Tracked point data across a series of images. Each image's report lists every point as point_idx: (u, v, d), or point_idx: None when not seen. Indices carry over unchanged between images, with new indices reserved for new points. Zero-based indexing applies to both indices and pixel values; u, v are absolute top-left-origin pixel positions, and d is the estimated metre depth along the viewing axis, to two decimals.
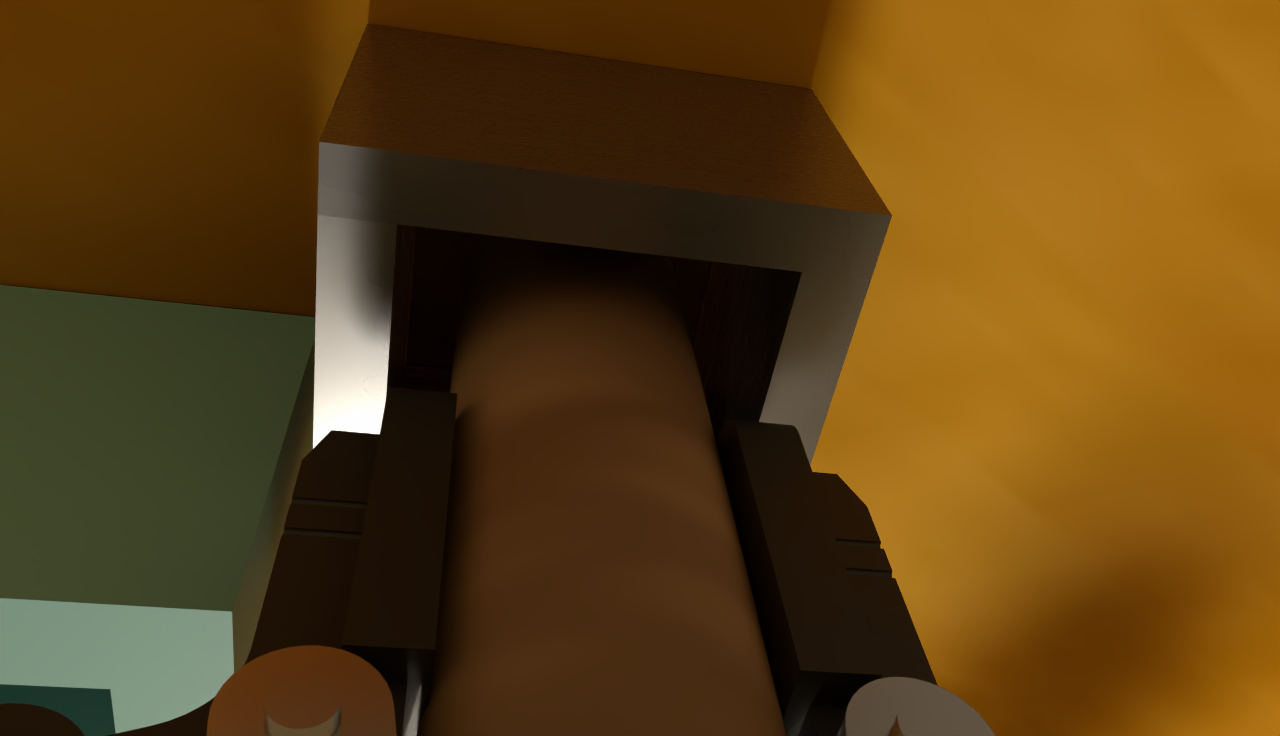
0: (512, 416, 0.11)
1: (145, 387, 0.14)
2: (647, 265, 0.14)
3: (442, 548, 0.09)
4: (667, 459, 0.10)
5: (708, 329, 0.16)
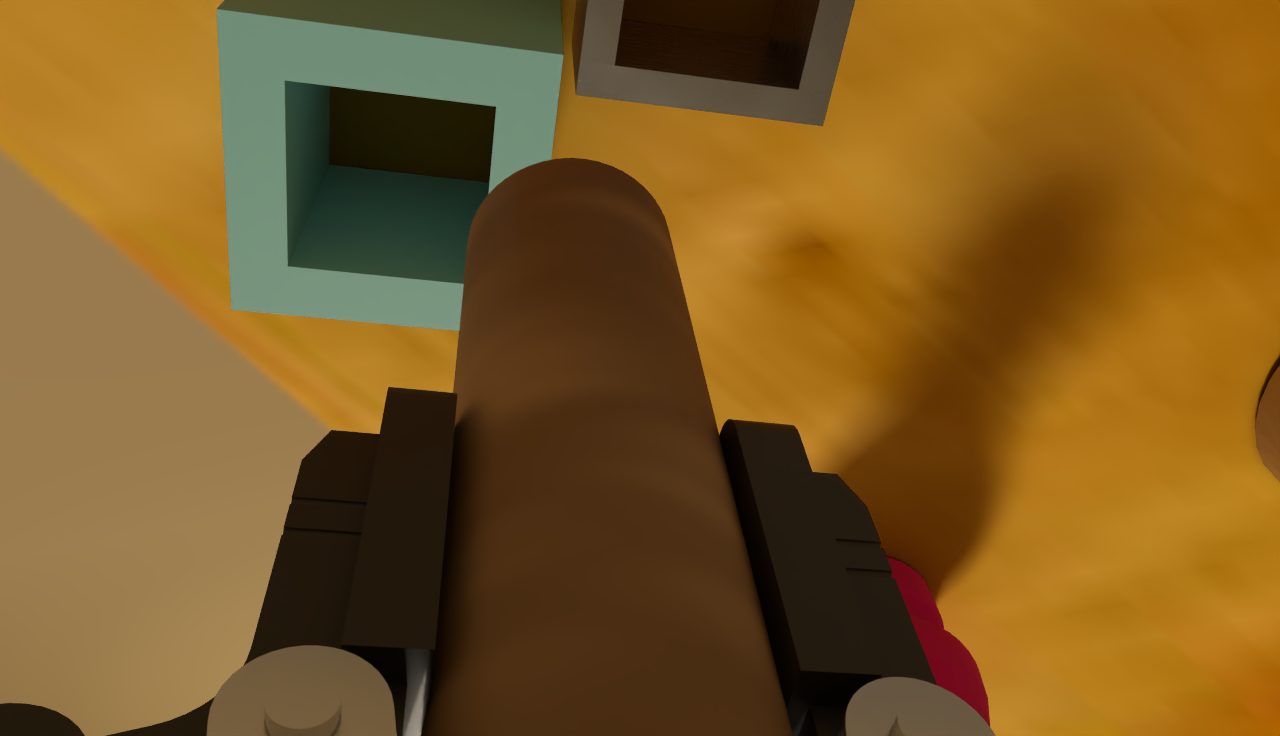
0: (516, 412, 0.11)
1: None
2: (650, 261, 0.14)
3: (442, 548, 0.09)
4: (671, 456, 0.10)
5: None
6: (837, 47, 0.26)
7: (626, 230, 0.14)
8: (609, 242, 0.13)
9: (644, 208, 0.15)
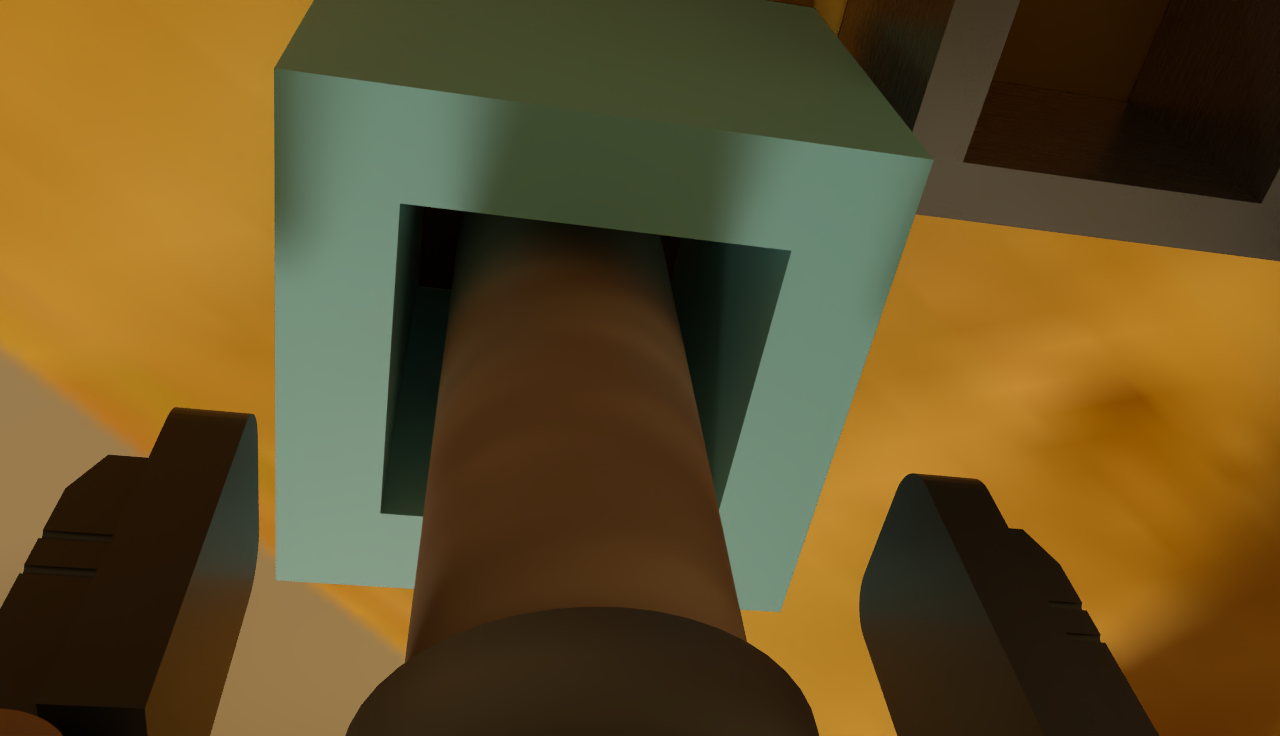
0: (503, 287, 0.13)
1: (715, 31, 0.15)
2: None
3: (185, 591, 0.08)
4: (631, 318, 0.12)
5: (1192, 17, 0.17)
6: None
7: None
8: None
9: None
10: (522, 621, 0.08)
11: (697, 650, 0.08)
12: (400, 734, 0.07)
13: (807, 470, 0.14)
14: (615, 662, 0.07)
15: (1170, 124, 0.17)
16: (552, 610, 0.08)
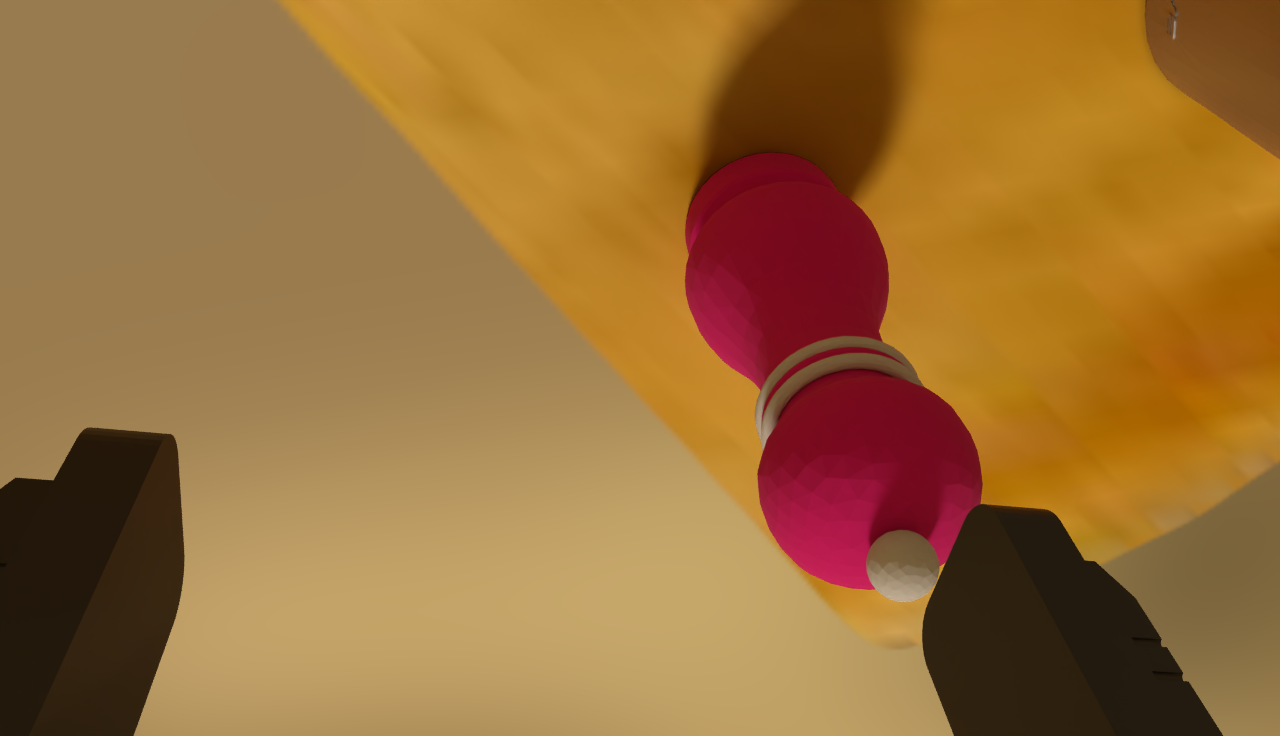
0: None
1: None
2: None
3: (76, 626, 0.08)
4: None
5: None
6: None
7: None
8: None
9: None
10: None
11: None
12: None
13: None
14: None
15: None
16: None
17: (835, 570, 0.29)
